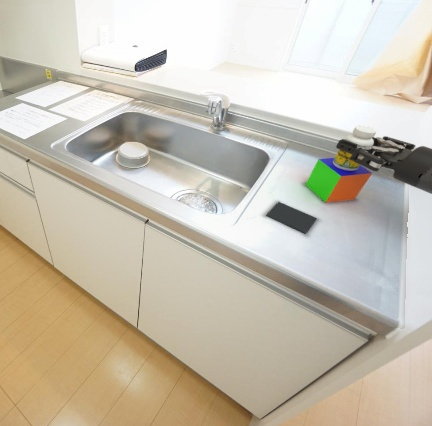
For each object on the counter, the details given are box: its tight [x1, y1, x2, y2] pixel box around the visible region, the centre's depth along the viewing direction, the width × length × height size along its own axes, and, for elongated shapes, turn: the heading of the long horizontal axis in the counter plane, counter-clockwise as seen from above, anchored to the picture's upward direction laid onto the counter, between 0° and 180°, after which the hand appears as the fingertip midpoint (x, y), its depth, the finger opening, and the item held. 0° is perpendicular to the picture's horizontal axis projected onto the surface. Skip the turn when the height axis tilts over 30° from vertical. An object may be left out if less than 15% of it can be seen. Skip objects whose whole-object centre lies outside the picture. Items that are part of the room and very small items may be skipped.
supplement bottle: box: [333, 125, 378, 171], centre depth 66 cm, size 5×5×10 cm
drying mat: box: [266, 201, 318, 235], centre depth 67 cm, size 9×7×1 cm
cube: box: [304, 157, 373, 203], centre depth 72 cm, size 8×8×8 cm
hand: (347, 139), depth 67 cm, fingers open, 6 cm apart
